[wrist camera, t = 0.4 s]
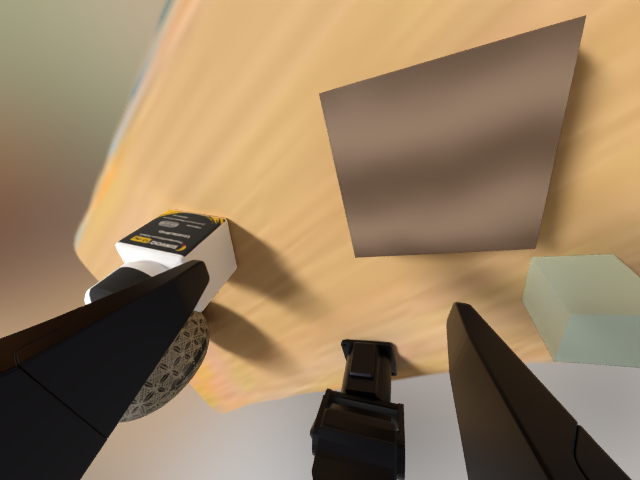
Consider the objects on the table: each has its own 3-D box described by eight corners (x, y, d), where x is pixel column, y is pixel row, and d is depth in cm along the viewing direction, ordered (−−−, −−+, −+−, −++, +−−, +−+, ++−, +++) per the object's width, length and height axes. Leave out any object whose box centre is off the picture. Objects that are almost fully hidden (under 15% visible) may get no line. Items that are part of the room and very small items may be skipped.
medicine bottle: (228, 217, 26) (131, 302, 17) (238, 268, 31) (165, 359, 21) (170, 207, 28) (50, 281, 18) (188, 257, 32) (97, 339, 22)
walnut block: (513, 219, 20) (535, 248, 16) (361, 232, 24) (355, 257, 21) (542, 27, 14) (586, 15, 11) (333, 89, 18) (319, 93, 15)
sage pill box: (592, 300, 21) (649, 368, 17) (521, 300, 23) (553, 361, 18) (612, 253, 19) (685, 316, 14) (530, 256, 21) (570, 314, 16)
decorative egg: (216, 289, 34) (118, 409, 22) (233, 340, 41) (164, 454, 29) (146, 274, 36) (22, 375, 25) (172, 325, 43) (86, 423, 31)
